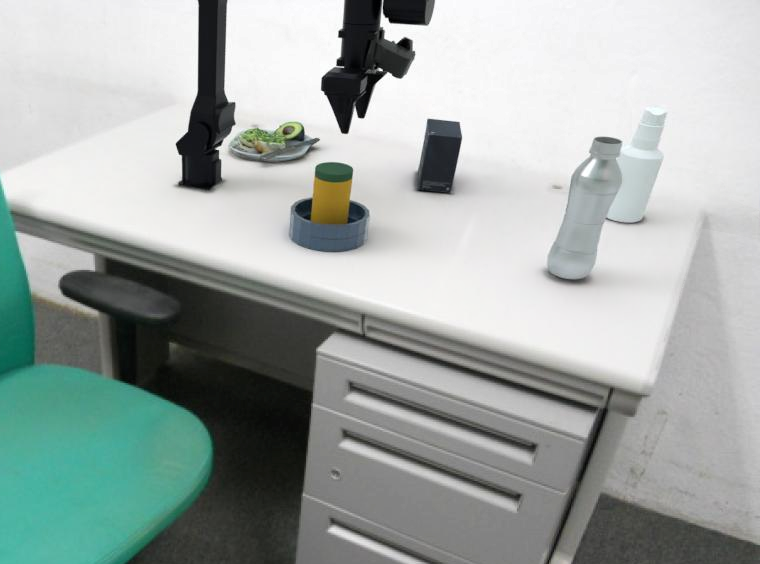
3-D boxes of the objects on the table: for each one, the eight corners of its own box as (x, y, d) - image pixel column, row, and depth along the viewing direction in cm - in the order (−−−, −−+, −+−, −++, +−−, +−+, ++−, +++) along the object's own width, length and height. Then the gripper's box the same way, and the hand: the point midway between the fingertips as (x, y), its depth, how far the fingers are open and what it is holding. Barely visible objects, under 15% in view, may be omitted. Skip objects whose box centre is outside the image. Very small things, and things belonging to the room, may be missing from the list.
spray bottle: (640, 211, 137) (676, 106, 126) (643, 225, 131) (682, 117, 121) (598, 206, 138) (631, 102, 128) (600, 220, 133) (635, 112, 122)
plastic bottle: (536, 266, 118) (572, 133, 106) (578, 265, 118) (619, 133, 107) (554, 285, 113) (595, 148, 101) (598, 284, 113) (644, 147, 101)
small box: (452, 194, 142) (464, 136, 136) (417, 191, 143) (426, 133, 137) (450, 175, 151) (461, 120, 144) (416, 172, 152) (425, 117, 145)
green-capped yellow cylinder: (304, 238, 123) (310, 171, 117) (316, 226, 127) (322, 159, 121) (339, 245, 121) (347, 176, 115) (349, 232, 125) (357, 165, 119)
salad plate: (302, 172, 151) (304, 148, 148) (216, 161, 155) (216, 138, 152) (322, 143, 166) (324, 121, 163) (243, 134, 170) (244, 113, 167)
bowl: (277, 247, 122) (279, 217, 119) (303, 220, 131) (305, 191, 128) (353, 262, 118) (357, 231, 115) (374, 233, 127) (378, 203, 124)
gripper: (398, 36, 108) (386, 148, 117) (427, 14, 122) (415, 115, 131) (322, 31, 112) (317, 140, 121) (359, 10, 126) (351, 109, 135)
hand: (353, 125), depth 127 cm, fingers open, 9 cm apart
